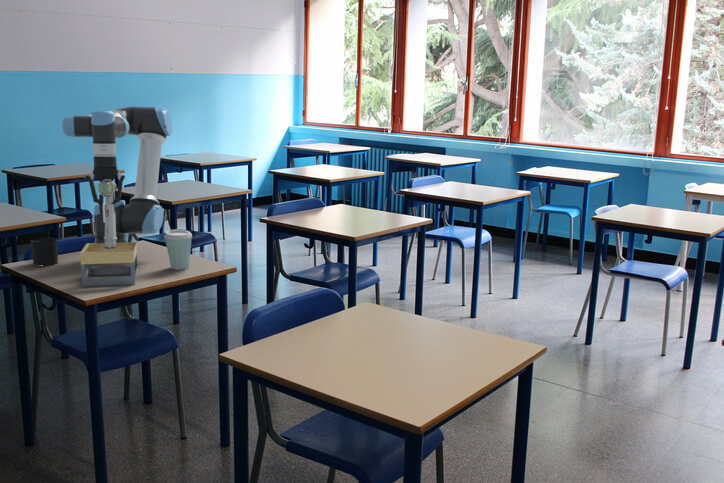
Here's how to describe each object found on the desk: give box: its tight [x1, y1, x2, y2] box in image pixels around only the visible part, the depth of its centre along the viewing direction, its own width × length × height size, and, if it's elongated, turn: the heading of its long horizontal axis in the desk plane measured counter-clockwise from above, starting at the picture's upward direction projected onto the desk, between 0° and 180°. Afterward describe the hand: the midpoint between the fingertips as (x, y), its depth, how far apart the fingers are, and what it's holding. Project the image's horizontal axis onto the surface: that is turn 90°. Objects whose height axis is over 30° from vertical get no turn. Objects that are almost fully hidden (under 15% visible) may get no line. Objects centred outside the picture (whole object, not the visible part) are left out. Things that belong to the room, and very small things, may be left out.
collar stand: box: [79, 241, 139, 288], centre depth 242 cm, size 18×18×12 cm
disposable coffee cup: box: [163, 229, 193, 271], centre depth 260 cm, size 11×11×15 cm
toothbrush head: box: [96, 179, 118, 249], centre depth 238 cm, size 5×7×25 cm
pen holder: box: [30, 237, 59, 267], centre depth 263 cm, size 9×9×10 cm
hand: (108, 221), depth 239 cm, fingers closed on toothbrush head, 1 cm apart
